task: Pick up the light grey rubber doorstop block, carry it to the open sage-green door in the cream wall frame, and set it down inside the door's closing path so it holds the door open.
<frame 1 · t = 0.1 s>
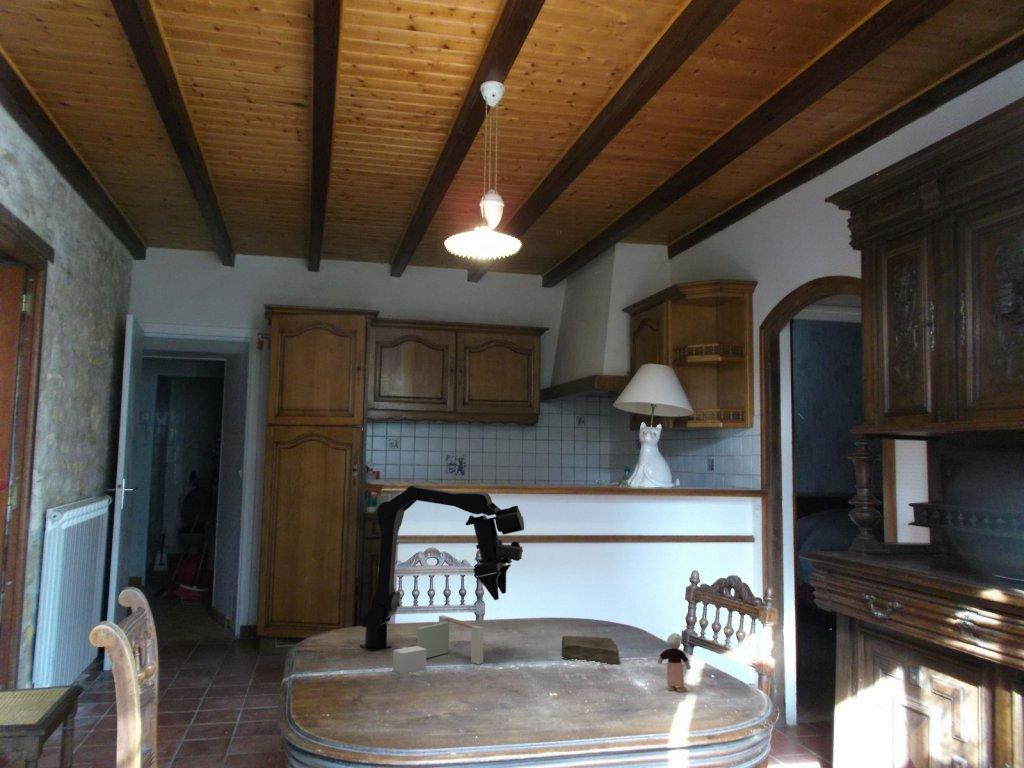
hand: (500, 596, 212), 15 cm above the table, tool pointing down, fingers open, 9 cm apart
grandmother figurine: (674, 690, 184), on the table
wall frame: (459, 656, 209), on the table
brown stone slab: (589, 657, 213), on the table
door: (431, 640, 210), point 4 cm above the table, hinge at 80.0°
doorstop block: (409, 670, 196), on the table
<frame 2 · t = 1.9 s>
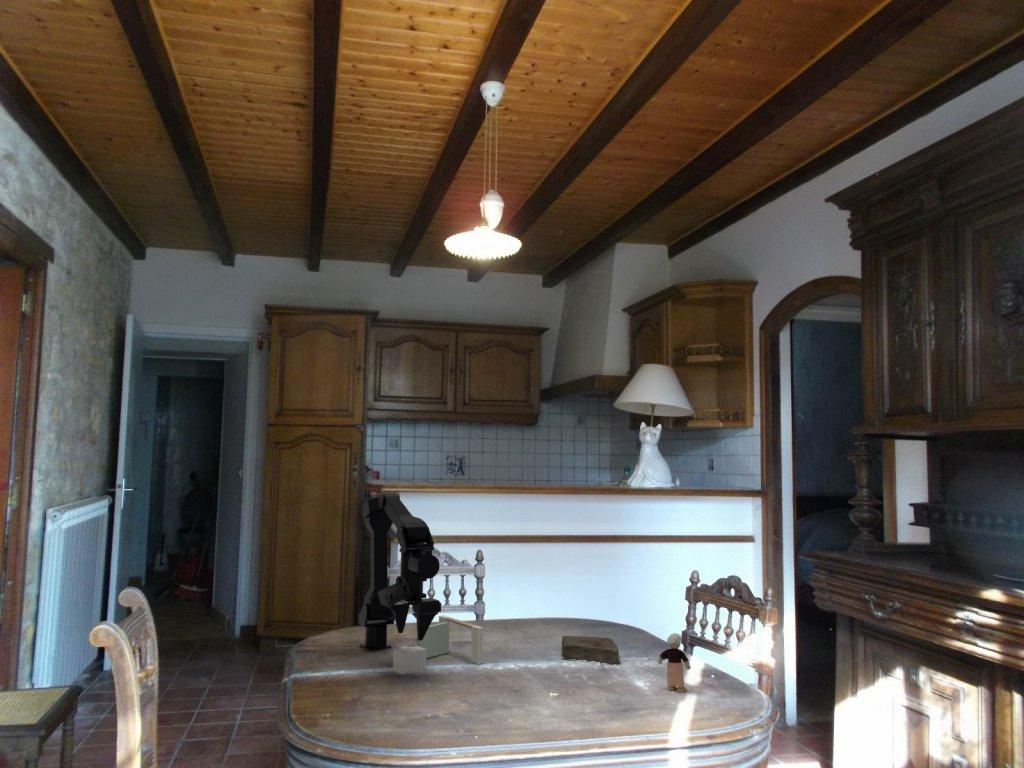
hand: (410, 636, 197), 8 cm above the table, tool pointing down, fingers open, 9 cm apart
nothing on the table moved.
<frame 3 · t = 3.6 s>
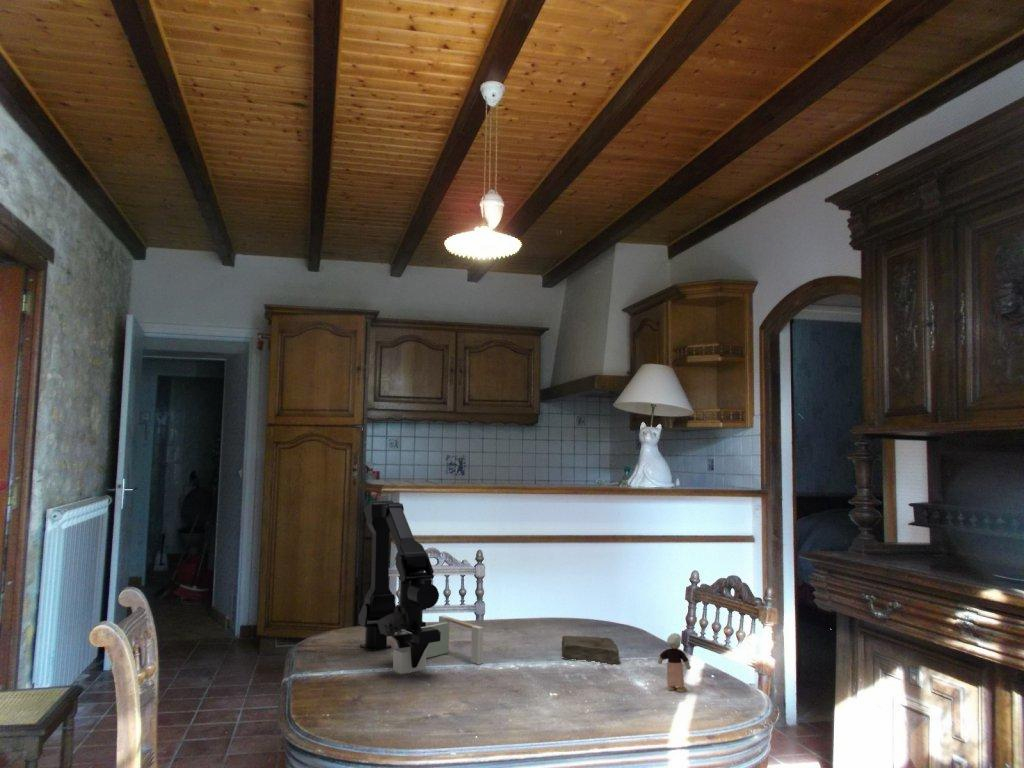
hand: (409, 665, 196), 1 cm above the table, tool pointing down, fingers closed on doorstop block, 4 cm apart
doorstop block: (409, 669, 196), on the table, touching gripper
everything else where it was.
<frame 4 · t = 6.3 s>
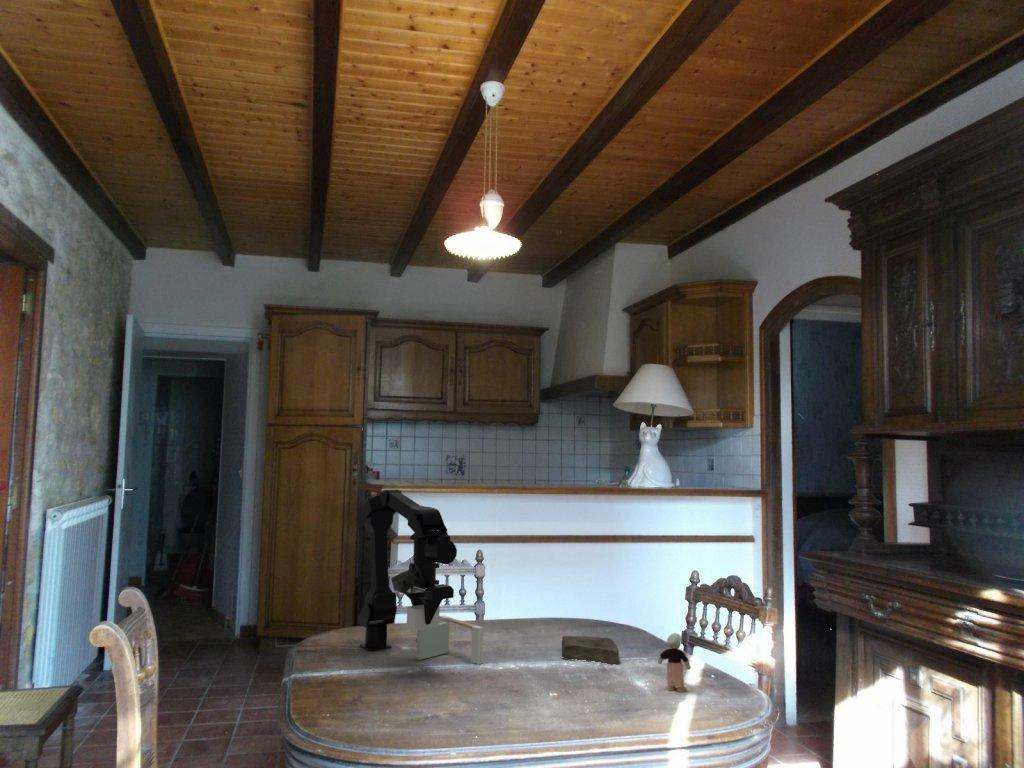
hand: (423, 622, 199), 11 cm above the table, tool pointing down, fingers closed on doorstop block, 4 cm apart
doorstop block: (422, 627, 199), point 10 cm above the table, touching gripper
everything else where it was.
when the fingers open (2 cm above the table, at t = 9.2 s): doorstop block drops 1 cm, on the table.
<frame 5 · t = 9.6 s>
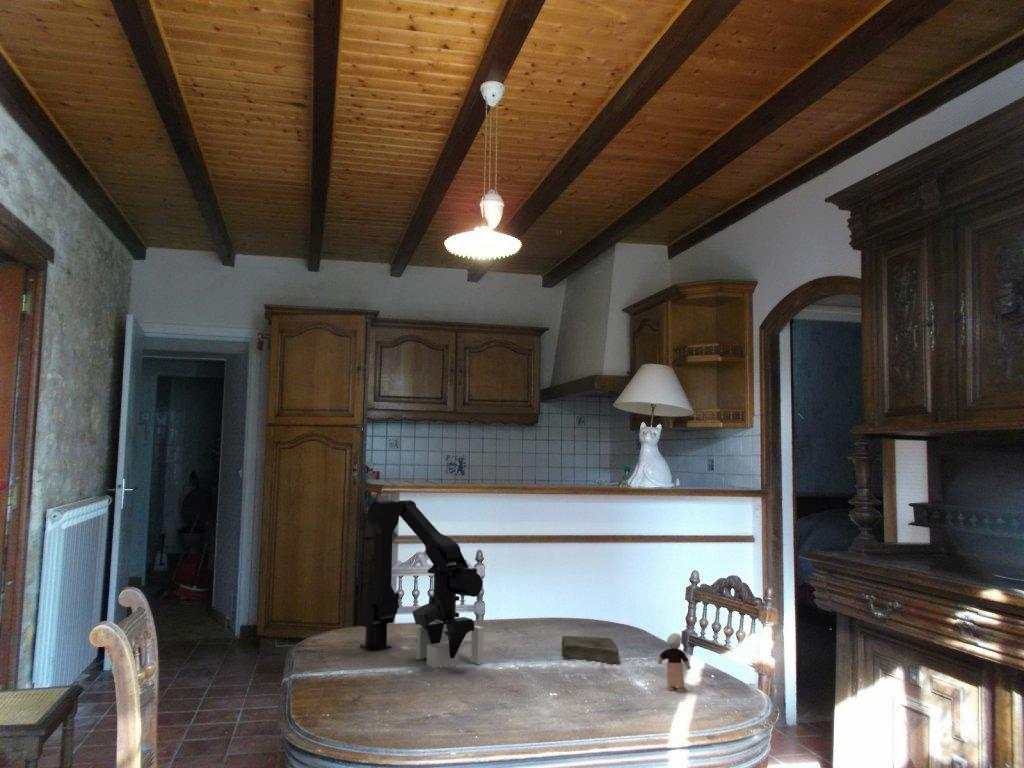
hand: (443, 655, 202), 2 cm above the table, tool pointing down, fingers open, 7 cm apart
door: (431, 640, 210), point 4 cm above the table, hinge at 80.2°, touching gripper
doorstop block: (442, 664, 202), on the table
everything else where it was.
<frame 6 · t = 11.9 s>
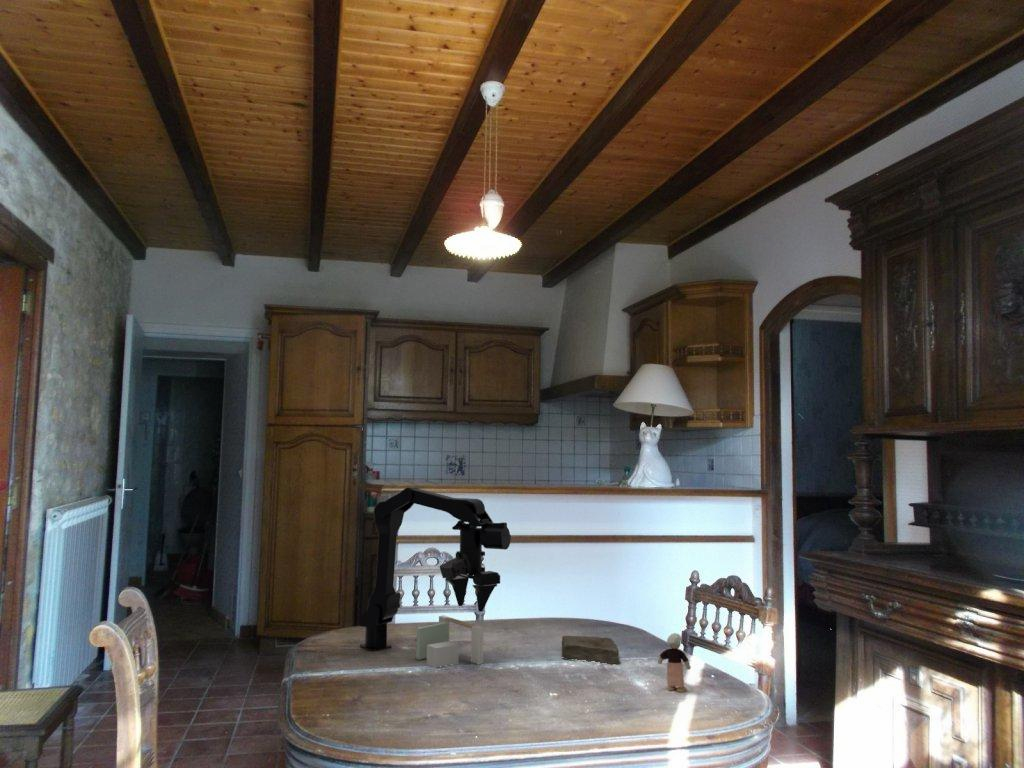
hand: (470, 608, 207), 13 cm above the table, tool pointing down, fingers open, 9 cm apart
door: (431, 640, 210), point 4 cm above the table, hinge at 81.2°
everything else where it was.
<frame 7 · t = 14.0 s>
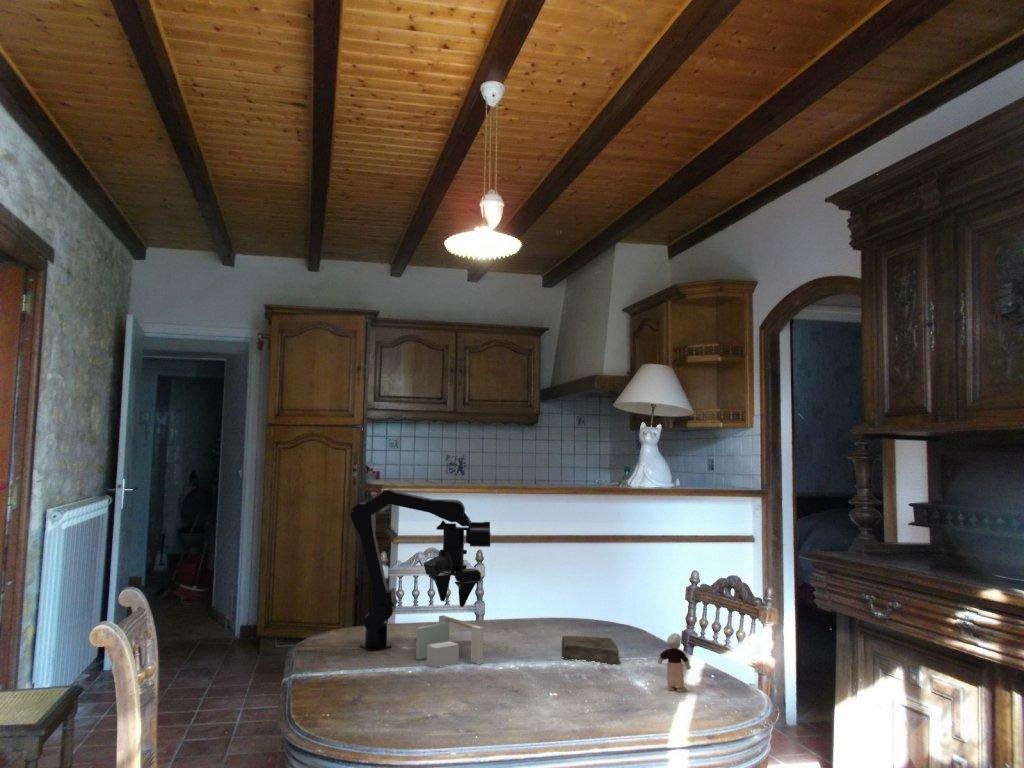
hand: (452, 603, 218), 12 cm above the table, tool pointing down, fingers open, 9 cm apart
nothing on the table moved.
at the end: doorstop block 0.0 cm from the target spot, on the table; doorstop block tilted 0°; door at +81° (first picture: +80°) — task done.
